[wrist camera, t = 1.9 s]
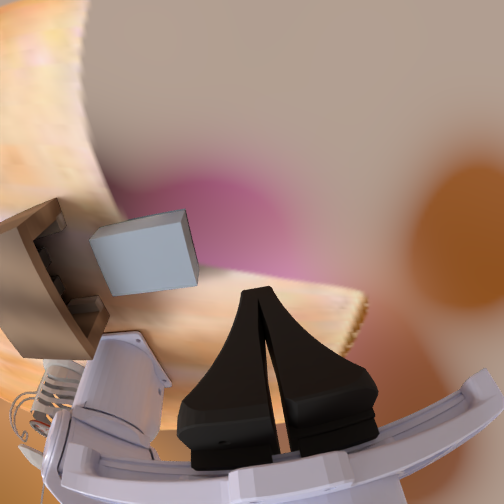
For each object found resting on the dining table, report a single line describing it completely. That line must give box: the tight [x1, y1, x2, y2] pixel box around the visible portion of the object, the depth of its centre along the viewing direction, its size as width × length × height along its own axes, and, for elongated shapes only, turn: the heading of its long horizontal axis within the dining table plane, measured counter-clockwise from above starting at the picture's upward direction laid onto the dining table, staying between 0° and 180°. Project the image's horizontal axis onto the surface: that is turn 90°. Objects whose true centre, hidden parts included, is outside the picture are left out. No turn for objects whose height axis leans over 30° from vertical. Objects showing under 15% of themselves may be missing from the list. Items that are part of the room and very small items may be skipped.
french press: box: [9, 359, 85, 504], centre depth 17 cm, size 10×12×25 cm
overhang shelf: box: [0, 198, 110, 360], centre depth 17 cm, size 12×10×6 cm
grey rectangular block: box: [89, 209, 199, 296], centre depth 19 cm, size 5×7×2 cm
